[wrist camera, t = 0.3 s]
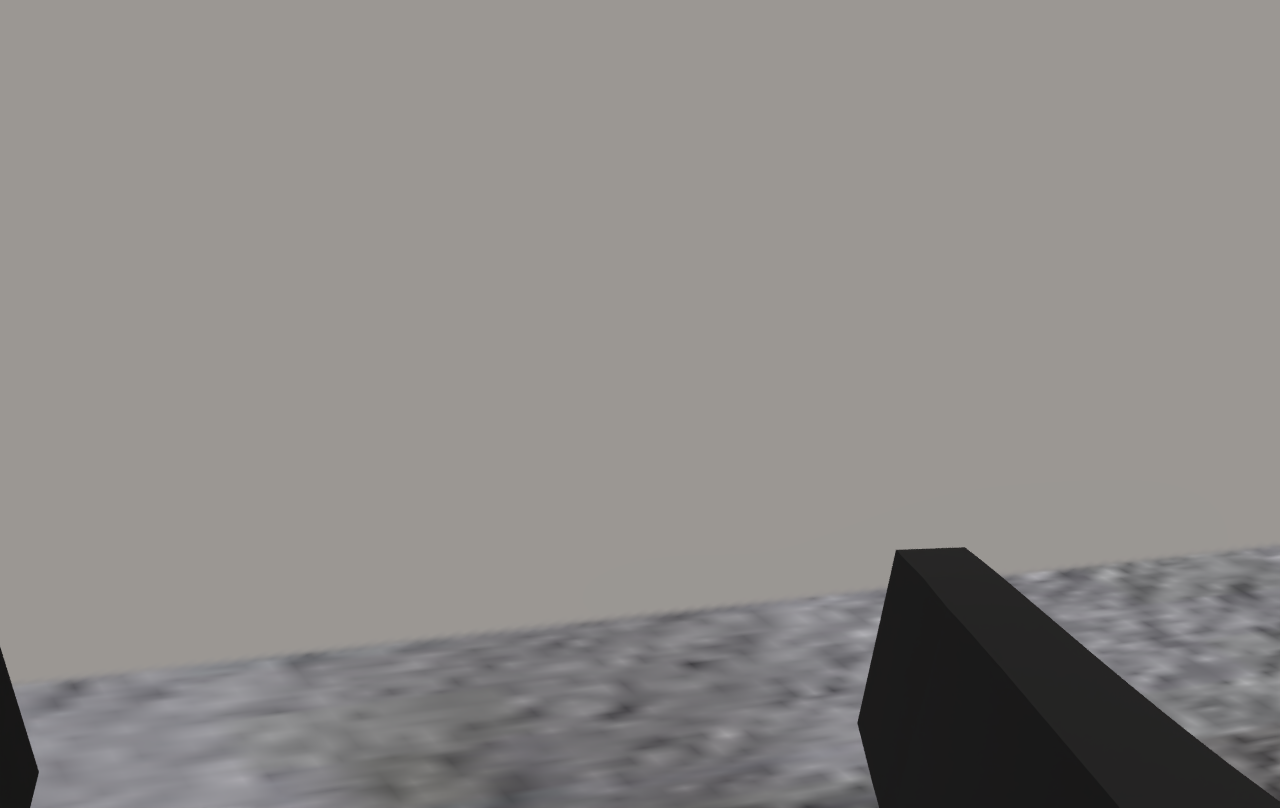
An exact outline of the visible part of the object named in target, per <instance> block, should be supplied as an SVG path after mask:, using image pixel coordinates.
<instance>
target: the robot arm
mask: <svg viewBox="0 0 1280 808" xmlns="http://www.w3.org/2000/svg"><path fill="white" fill-rule="evenodd" d="M858 727H859V731H860V735H861V739H862V743H863V747H864V751H865V755H866V759H867V763H868V767H869V771H870V775H871V779H872V783H873V787H874V790H875V794H876V797H877V801H878V805H879V808H1280V801H1278V800H1277V799H1275V798H1274V797H1273V796H1271V795H1270V794H1269V793H1267V792H1266V791H1265V790H1263V789H1262V788H1261V787H1259V786H1258V785H1257V784H1255V783H1254V782H1253V781H1251V780H1250V779H1249V778H1247V777H1246V776H1244V775H1243V774H1242V773H1240V772H1239V771H1238V770H1236V769H1235V768H1234V767H1232V766H1231V765H1230V764H1228V763H1227V762H1226V761H1225V760H1223V759H1222V758H1221V757H1219V756H1218V755H1217V754H1216V753H1214V752H1213V751H1212V750H1210V749H1209V748H1208V747H1207V746H1205V745H1204V744H1203V743H1201V742H1200V741H1199V740H1198V739H1196V738H1195V737H1194V736H1193V735H1191V734H1190V733H1189V732H1187V731H1186V730H1185V729H1184V728H1182V727H1181V726H1180V725H1179V724H1177V723H1176V722H1175V721H1174V720H1172V719H1171V718H1170V717H1169V716H1167V715H1166V714H1165V713H1164V712H1162V711H1161V710H1160V709H1159V708H1157V707H1156V706H1155V705H1154V704H1153V703H1151V702H1150V701H1149V700H1148V699H1146V698H1145V697H1144V696H1143V695H1142V694H1140V693H1139V692H1138V691H1137V690H1135V689H1134V688H1133V687H1132V686H1131V685H1129V684H1128V683H1127V682H1126V681H1125V680H1123V679H1122V678H1121V677H1120V676H1119V675H1117V674H1116V673H1115V672H1114V671H1113V670H1111V669H1110V668H1109V667H1108V666H1107V665H1105V664H1104V663H1103V662H1102V661H1101V660H1099V659H1098V658H1097V657H1096V656H1095V655H1093V654H1092V653H1091V652H1090V651H1089V650H1087V649H1086V648H1085V647H1084V646H1083V645H1082V644H1080V643H1079V642H1078V641H1077V640H1076V639H1074V638H1073V637H1072V636H1071V635H1070V634H1069V633H1067V632H1066V631H1065V630H1064V629H1063V628H1061V627H1060V626H1059V625H1058V624H1057V623H1056V622H1054V621H1053V620H1052V619H1051V618H1050V617H1048V616H1047V615H1046V614H1045V613H1044V612H1043V611H1041V610H1040V609H1039V608H1038V607H1037V606H1036V605H1034V604H1033V603H1032V602H1031V601H1030V600H1028V599H1027V598H1026V597H1025V596H1024V595H1023V594H1021V593H1020V592H1019V591H1018V590H1017V589H1016V588H1014V587H1013V586H1012V585H1011V584H1010V583H1008V582H1007V581H1006V580H1005V579H1004V578H1002V577H1001V576H1000V575H999V574H998V573H996V572H995V571H994V570H993V569H991V568H990V567H989V566H988V565H987V564H985V563H984V562H983V561H982V560H980V559H979V558H978V557H976V556H975V555H974V554H973V553H971V552H970V551H969V550H967V549H966V548H965V547H962V548H936V549H911V550H910V549H909V550H896V553H895V557H894V561H893V566H892V571H891V575H890V579H889V584H888V588H887V593H886V597H885V602H884V606H883V611H882V615H881V620H880V624H879V629H878V633H877V638H876V642H875V647H874V651H873V656H872V660H871V665H870V669H869V674H868V678H867V683H866V687H865V692H864V696H863V701H862V705H861V709H860V714H859V718H858ZM38 774H39V771H38V768H37V764H36V761H35V758H34V755H33V752H32V748H31V745H30V742H29V739H28V735H27V732H26V729H25V726H24V722H23V719H22V716H21V713H20V709H19V706H18V703H17V700H16V697H15V693H14V690H13V687H12V684H11V680H10V677H9V674H8V671H7V668H6V664H5V661H4V658H3V654H2V651H1V648H0V808H30V806H31V802H32V798H33V794H34V790H35V786H36V782H37V778H38Z"/></svg>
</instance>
